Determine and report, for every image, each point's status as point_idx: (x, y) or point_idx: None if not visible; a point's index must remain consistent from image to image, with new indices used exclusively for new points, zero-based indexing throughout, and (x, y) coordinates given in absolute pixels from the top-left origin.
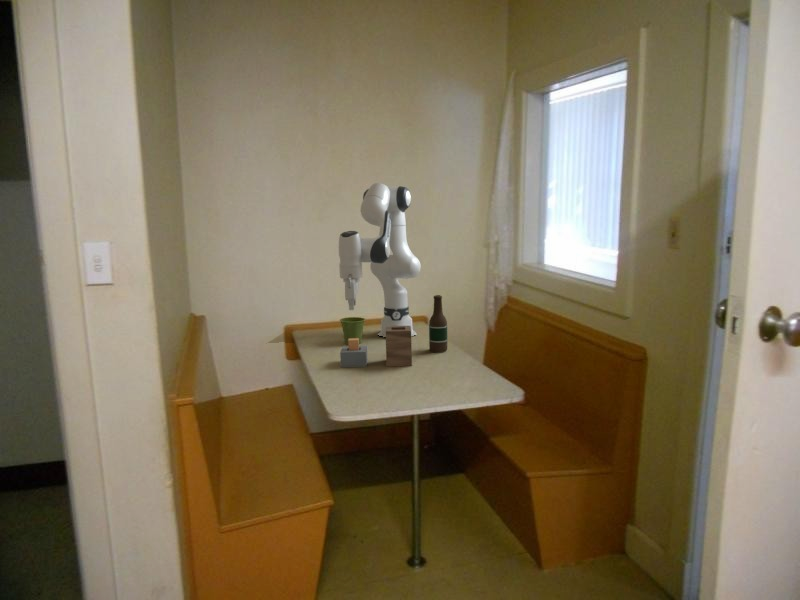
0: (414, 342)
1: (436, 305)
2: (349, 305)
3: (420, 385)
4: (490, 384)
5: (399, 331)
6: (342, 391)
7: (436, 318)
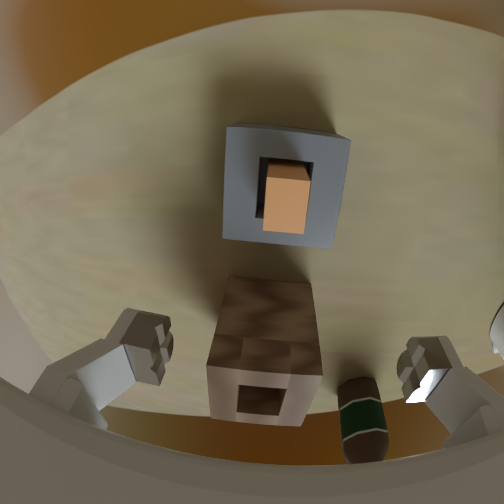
0: None
1: None
2: (98, 346)
3: (82, 317)
4: None
5: (209, 396)
6: (26, 161)
7: (353, 459)
